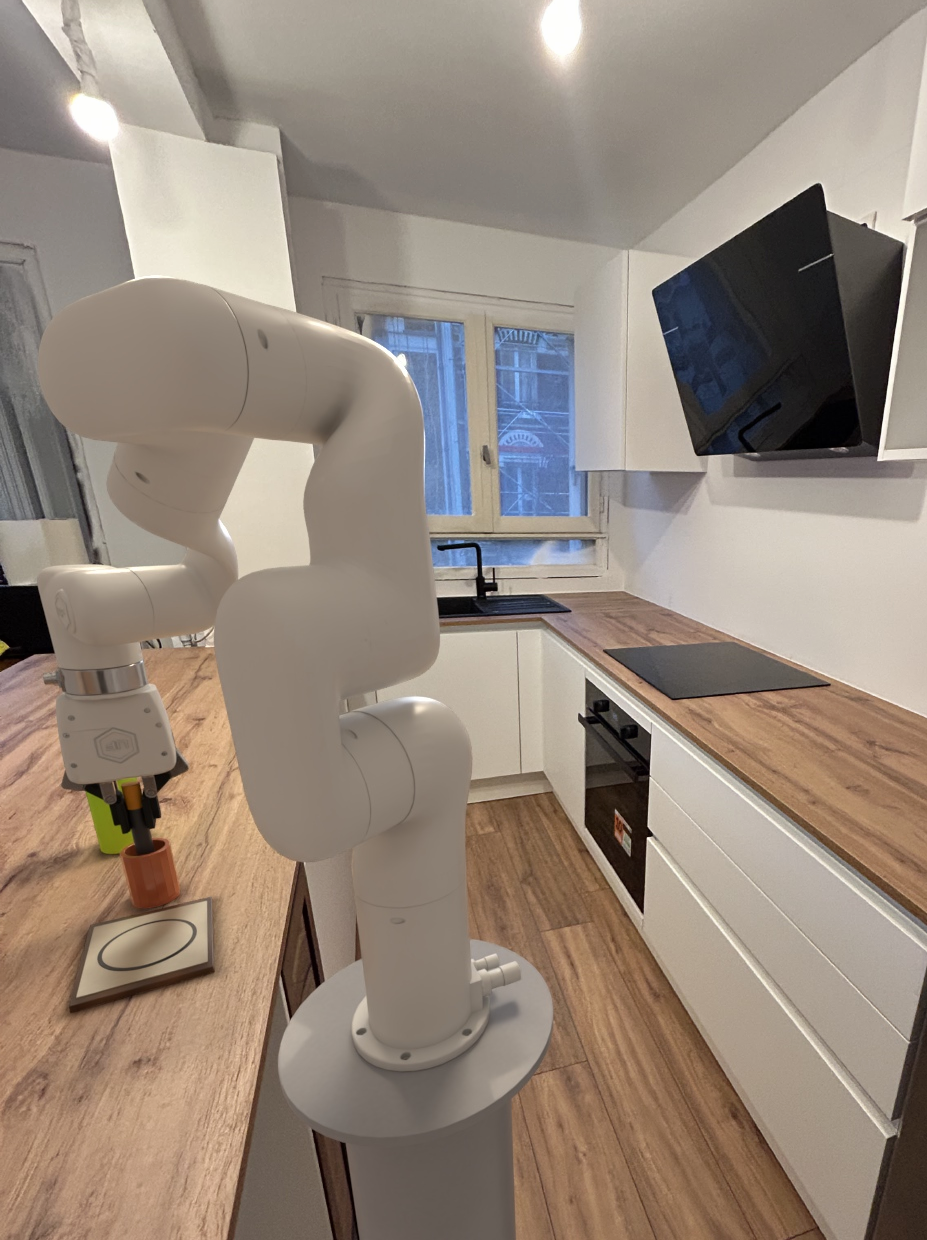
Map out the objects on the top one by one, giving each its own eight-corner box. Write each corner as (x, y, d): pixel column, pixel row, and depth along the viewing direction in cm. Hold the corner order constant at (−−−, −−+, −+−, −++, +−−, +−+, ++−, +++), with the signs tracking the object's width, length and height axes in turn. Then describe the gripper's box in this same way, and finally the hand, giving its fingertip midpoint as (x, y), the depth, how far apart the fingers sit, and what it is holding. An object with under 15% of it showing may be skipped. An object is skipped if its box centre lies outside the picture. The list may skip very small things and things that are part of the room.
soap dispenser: (155, 847, 92) (125, 714, 86) (96, 857, 89) (59, 720, 83) (162, 830, 97) (133, 703, 91) (105, 838, 94) (72, 708, 88)
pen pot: (181, 882, 84) (170, 834, 82) (179, 901, 80) (168, 851, 78) (134, 892, 82) (122, 843, 79) (130, 912, 78) (117, 861, 75)
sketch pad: (212, 901, 80) (211, 895, 80) (214, 972, 68) (213, 964, 68) (91, 930, 74) (89, 923, 74) (70, 1013, 62) (67, 1005, 62)
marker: (161, 876, 81) (140, 779, 77) (160, 882, 80) (138, 784, 76) (143, 879, 80) (121, 782, 76) (142, 886, 79) (120, 787, 75)
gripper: (3, 695, 65) (49, 856, 71) (189, 679, 73) (216, 825, 79) (20, 678, 71) (61, 828, 77) (190, 665, 79) (215, 802, 85)
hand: (139, 825), depth 78 cm, fingers closed on marker, 1 cm apart
